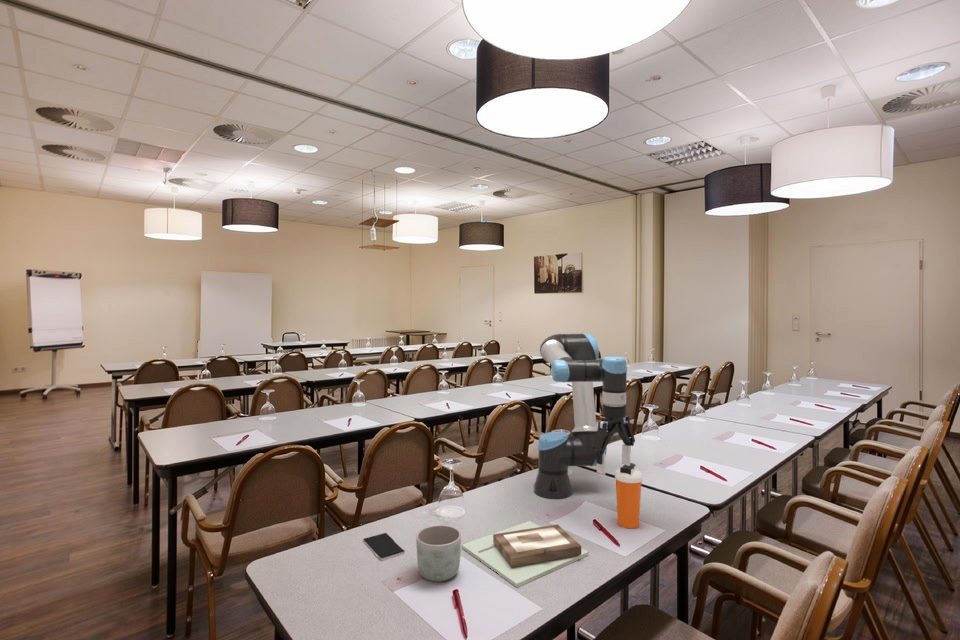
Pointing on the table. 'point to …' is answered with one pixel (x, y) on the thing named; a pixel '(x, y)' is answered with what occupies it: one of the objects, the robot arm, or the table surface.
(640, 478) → the shaker bottle
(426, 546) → the planter
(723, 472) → the table surface
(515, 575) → the wall panel
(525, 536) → the frame
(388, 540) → the smartphone
